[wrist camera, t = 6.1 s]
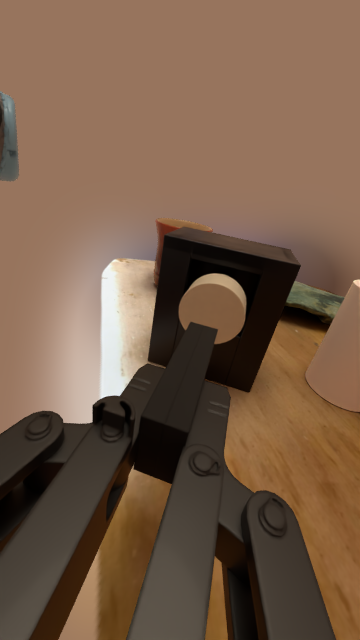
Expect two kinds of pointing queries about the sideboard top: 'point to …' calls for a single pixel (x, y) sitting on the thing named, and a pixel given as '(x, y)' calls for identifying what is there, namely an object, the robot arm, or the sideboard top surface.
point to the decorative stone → (314, 301)
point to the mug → (166, 227)
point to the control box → (251, 274)
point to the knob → (215, 305)
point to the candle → (340, 356)
